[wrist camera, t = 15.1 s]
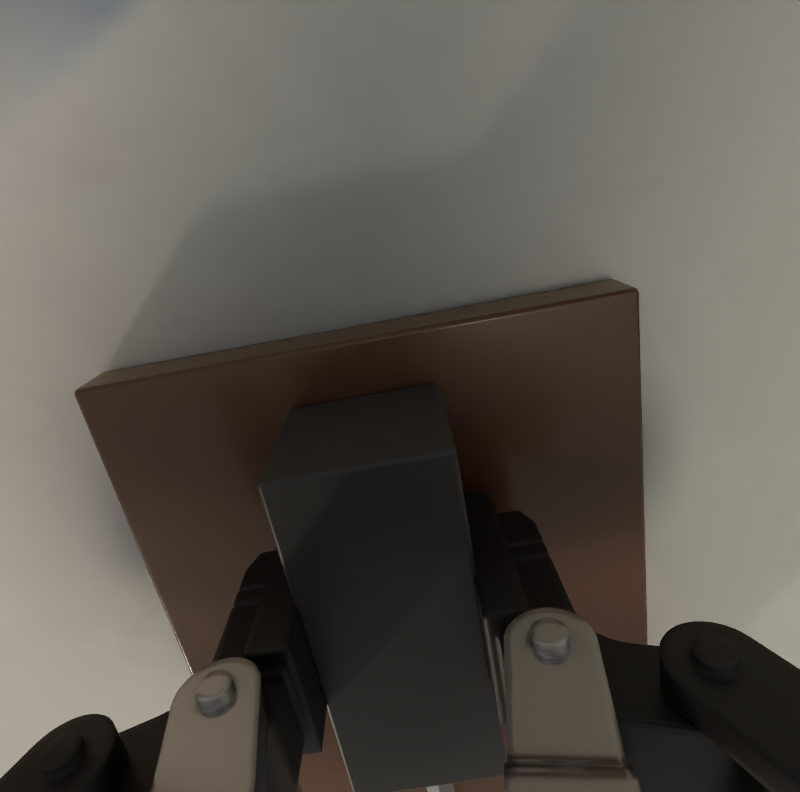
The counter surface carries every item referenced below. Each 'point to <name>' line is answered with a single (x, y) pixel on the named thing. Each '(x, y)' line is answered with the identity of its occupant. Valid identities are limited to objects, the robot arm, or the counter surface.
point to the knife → (387, 587)
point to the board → (376, 373)
